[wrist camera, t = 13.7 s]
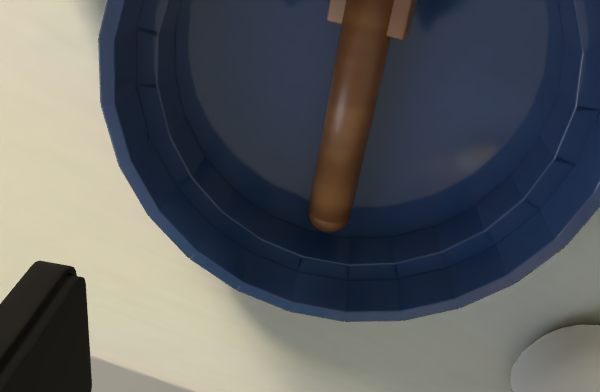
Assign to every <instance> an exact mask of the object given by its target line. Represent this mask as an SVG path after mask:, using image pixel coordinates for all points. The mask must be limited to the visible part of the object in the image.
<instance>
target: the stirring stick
mask: <svg viewBox="0 0 600 392" xmlns="http://www.w3.org/2000/svg"><path fill="white" fill-rule="evenodd" d="M416 2H417V0H330V3H329V9H328V15H327V20H328V21H329V22H333V23H337V24H341V25H342V26H341V31H340V37H339V42H338V48H337V53H336V59H335V64H334V70H333V75H332V81H331V86H330V92H329V97H328V103H327V108H326V114H325V119H324V125H323V130H322V136H321V141H320V147H319V152H318V158H317V163H316V169H315V174H314V180H313V185H312V191H311V196H310V202H309V207H308V214H309V218H310V221H311V222H312V224H313V225H314V226H315V227H316V228H317V229H319V230H321V231H323V232H336V231H338V230H340V229H342V228H343V227H344V226H345V225H346V224H347V223H348V221H349V219H350V216H351V212H352V207H353V203H354V198H355V194H356V190H357V185H358V181H359V176H360V172H361V168H362V163H363V159H364V155H365V150H366V146H367V141H368V137H369V133H370V128H371V124H372V119H373V115H374V111H375V106H376V102H377V97H378V93H379V89H380V84H381V80H382V75H383V71H384V67H385V62H386V58H387V53H388V49H389V45H390V40H391V37H392V38H395V39H399V40H403V39H405V38H406V37H407V36H408V35H409V30H410V26H411V22H412V18H413V14H414V10H415V6H416Z"/></svg>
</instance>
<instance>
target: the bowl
mask: <svg viewBox="0 0 600 392" xmlns="http://www.w3.org/2000/svg"><path fill="white" fill-rule="evenodd" d="M329 3H330V0H107V4H106V8H105V12H104V16H103V20H102V24H101V28H100V32H99V39H98V41H99V74H100V103H101V108H102V111H103V114H104V118H105V121H106V124H107V128H108V131H109V135H110V138H111V141H112V145H113V148H114V151H115V155H116V158H117V162H118V164H119V167H120V169H121V170H122V172H123V174H124V175H125V177H126V179H127V181H128V182H129V184H130V186H131V187H132V189H133V191H134V192H135V194H136V196H137V198H138V199H139V201H140V203H141V204H142V206H143V208H144V209H145V211H146V213H147V214H148V216H150V218H151V219H152V220H153V221H154V222H155V223H156V224H157V226H158V227H159V228H160V229H161V230H162V231H163V232H164V233H165V234H166V235H167V236H168V237H169V238H170V239H171V240H172V241H173V242H174V243H175V244H176V245H177V246H178V248H179V249H180V250H181V251H182V252H183V253H184V254H185V255H186V256H187V257H188V258H190V259H191V260H192V261H194V262H195V263H197V264H198V265H200V266H201V267H202V268H204V269H205V270H207V271H208V272H210V273H211V274H213V275H214V276H216V277H217V278H219V279H220V280H222V281H223V282H225V283H226V284H228V285H229V286H231V287H232V288H234V289H237V291H239V292H242V293H244V294H247V295H249V296H252V297H254V298H257V299H259V300H262V301H264V302H267V303H269V304H272V305H274V306H277V307H279V308H282V309H284V310H286V311H290V312H295V313H300V314H305V315H311V316H316V317H322V318H327V319H332V320H338V321H345V322H363V321H402V320H403V321H404V320H409V319H413V318H418V317H422V316H427V315H432V314H436V313H441V312H445V311H450V310H455V309H458V308H459V307H460V308H462V307H464V306H466V305H468V304H471V303H473V302H475V301H477V300H480V299H482V298H484V297H486V296H489V295H491V294H493V293H495V292H498V291H500V290H502V289H504V288H507V287H509V286H511V285H513V284H514V283H517V282H518V281H519V280H521V279H522V278H524V277H525V276H526V275H528V274H529V273H530V272H532V271H533V270H534V269H536V268H537V267H539V266H540V265H541V264H543V263H544V262H545V261H547V260H548V259H549V258H551V257H552V256H553V255H555V254H556V253H558V252H559V251H560V250H562V249H563V248H564V247H565V245H568V243H569V242H570V241H571V240H572V239H573V238H574V236H575V235H576V234H577V233H578V232H579V231H580V229H581V228H582V227H583V226H584V225H585V224H586V222H587V221H588V220H589V219H590V218H591V217H592V215H593V214H594V213H595V212H596V211H597V209H598V208H599V207H600V0H417V2H416V6H415V10H414V14H413V18H412V22H411V26H410V30H409V35H408V36H407V37H406V38H405V39H403V40H399V39H395V38H392V37H391V40H390V45H389V49H388V53H387V58H386V62H385V67H384V71H383V75H382V80H381V84H380V89H379V93H378V97H377V102H376V106H375V111H374V115H373V119H372V124H371V128H370V133H369V137H368V141H367V146H366V150H365V155H364V159H363V163H362V168H361V172H360V176H359V181H358V185H357V190H356V194H355V198H354V203H353V207H352V212H351V216H350V219H349V221H348V223H347V224H346V225H345V226H344V227H343V228H342V229H340V230H338V231H336V232H323V231H321V230H319V229H317V228H316V227H315V226H314V225H313V224H312V222H311V221H310V218H309V214H308V207H309V202H310V196H311V191H312V185H313V180H314V174H315V169H316V163H317V158H318V152H319V147H320V141H321V136H322V130H323V125H324V119H325V114H326V108H327V103H328V97H329V92H330V86H331V81H332V75H333V70H334V64H335V59H336V53H337V48H338V42H339V37H340V31H341V26H342V25H341V24H337V23H333V22H329V21H328V20H327V15H328V9H329Z"/></svg>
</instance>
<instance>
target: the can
mask: <svg viewBox="0 0 600 392" xmlns="http://www.w3.org/2000/svg"><path fill="white" fill-rule="evenodd" d="M510 384H511V388H512V391H513V392H600V325H573V326H568V327H563V328H559V329H557V330H554V331H552V332H550V333H547V334H545V335H543V336H542V337H541V338H539V339H537V340H536V341H535V342H534V343H532V344H531V345H530V346H529V347H527V348H526V349H525V350H523V351H522V353H521V354H520V356H519V357H518V359H517V360H516V362H515V363H514V365H513V367H512V372H511V378H510Z"/></svg>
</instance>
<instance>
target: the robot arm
mask: <svg viewBox="0 0 600 392" xmlns="http://www.w3.org/2000/svg"><path fill="white" fill-rule="evenodd" d="M91 388H92V379H91V363H90V346H89V330H88V314H87V298H86V283H85V279H84V278H83V277H78V276H77V275H76V270H75V269H74V267H71V266H66V265H61V264H55V263H50V262H44V261H37V262H35V263H34V264H33V265H32V266H31V267H30V268H29V270H28V271H27V272H26V273H25V275H24V276H23V277H22V278H21V279H20V281H19V282H18V283H17V284H16V286H15V287H14V288H13V289H12V290H11V292H10V293H9V294H8V295H7V297H6V298H5V299H4V300H3V302H2V303H1V304H0V392H91Z"/></svg>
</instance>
